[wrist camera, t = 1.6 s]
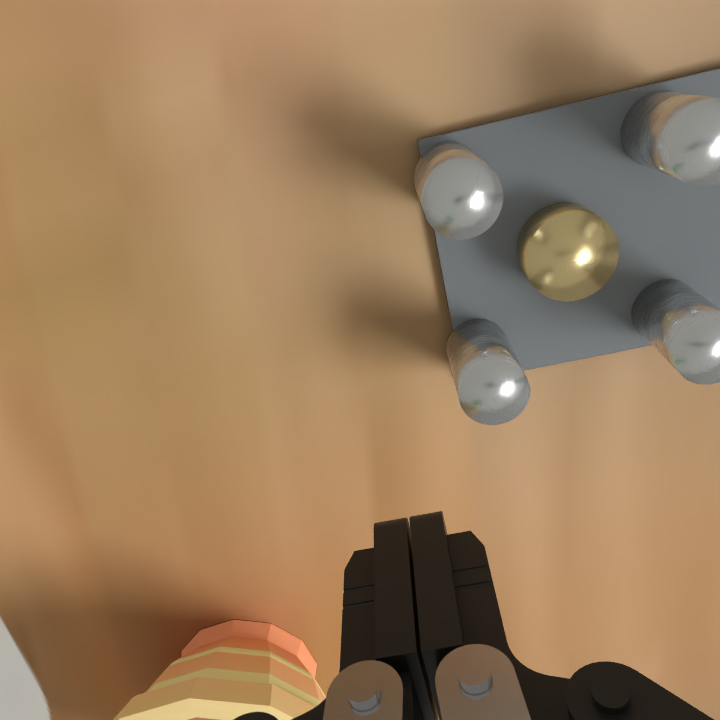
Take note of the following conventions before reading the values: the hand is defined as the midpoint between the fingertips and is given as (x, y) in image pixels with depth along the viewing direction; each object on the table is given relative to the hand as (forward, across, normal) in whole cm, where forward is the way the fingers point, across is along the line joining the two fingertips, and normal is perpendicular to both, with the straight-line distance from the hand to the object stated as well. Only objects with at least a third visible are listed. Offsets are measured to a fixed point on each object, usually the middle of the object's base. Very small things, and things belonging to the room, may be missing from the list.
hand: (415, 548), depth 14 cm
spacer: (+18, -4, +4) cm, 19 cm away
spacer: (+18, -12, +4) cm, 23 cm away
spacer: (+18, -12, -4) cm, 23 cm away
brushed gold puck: (+18, -8, 0) cm, 20 cm away
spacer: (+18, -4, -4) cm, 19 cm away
